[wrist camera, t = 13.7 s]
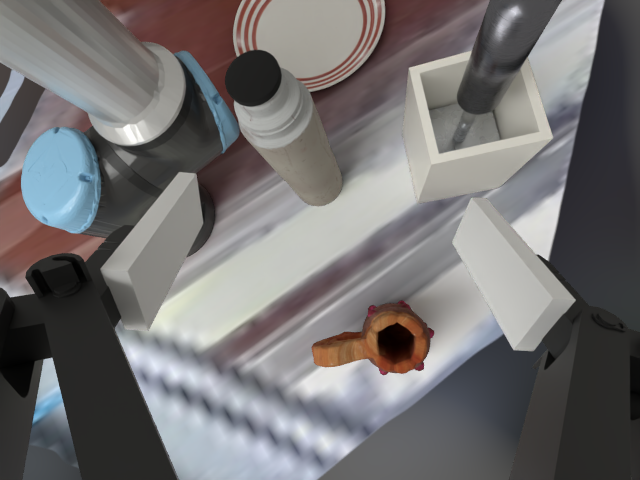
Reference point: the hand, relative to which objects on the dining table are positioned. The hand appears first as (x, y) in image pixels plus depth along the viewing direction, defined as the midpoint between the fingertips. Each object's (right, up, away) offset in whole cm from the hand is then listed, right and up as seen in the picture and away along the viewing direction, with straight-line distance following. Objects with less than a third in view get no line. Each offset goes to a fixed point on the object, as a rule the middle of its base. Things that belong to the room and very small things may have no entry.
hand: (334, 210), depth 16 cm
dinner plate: (-3, +37, +43) cm, 57 cm away
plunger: (+18, +12, +28) cm, 35 cm away
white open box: (+19, +11, +34) cm, 41 cm away
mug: (+8, -15, +33) cm, 37 cm away
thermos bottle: (-1, +8, +38) cm, 39 cm away
